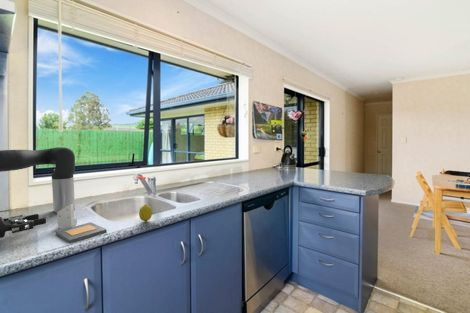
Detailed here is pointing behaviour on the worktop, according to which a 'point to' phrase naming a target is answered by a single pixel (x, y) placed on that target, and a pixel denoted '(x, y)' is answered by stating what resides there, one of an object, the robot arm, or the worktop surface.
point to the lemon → (145, 213)
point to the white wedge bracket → (66, 217)
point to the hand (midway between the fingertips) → (42, 218)
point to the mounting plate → (80, 232)
